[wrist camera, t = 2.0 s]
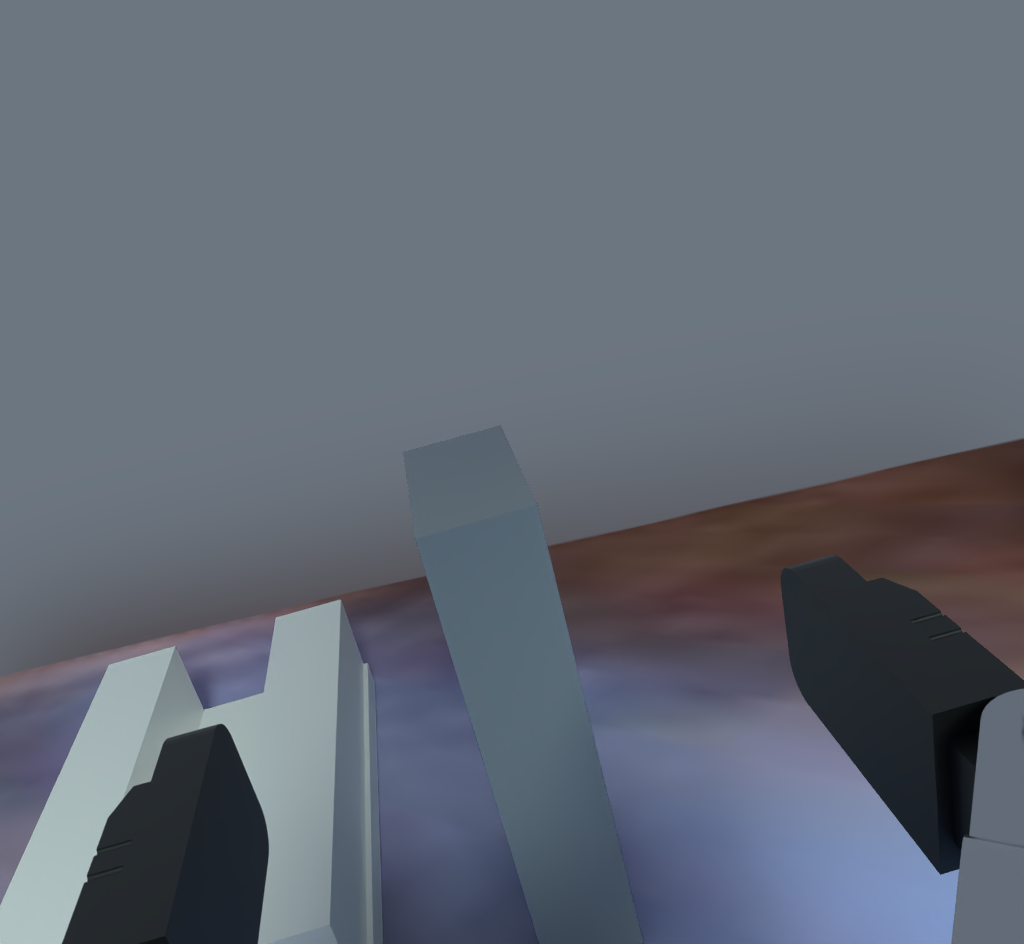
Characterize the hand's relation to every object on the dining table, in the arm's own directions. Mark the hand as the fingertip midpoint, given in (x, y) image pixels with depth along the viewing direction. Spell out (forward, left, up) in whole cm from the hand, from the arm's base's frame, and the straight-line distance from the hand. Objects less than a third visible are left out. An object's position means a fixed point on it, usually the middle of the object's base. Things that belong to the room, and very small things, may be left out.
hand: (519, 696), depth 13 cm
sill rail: (+12, -17, -16) cm, 27 cm away
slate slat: (0, -12, -16) cm, 20 cm away
